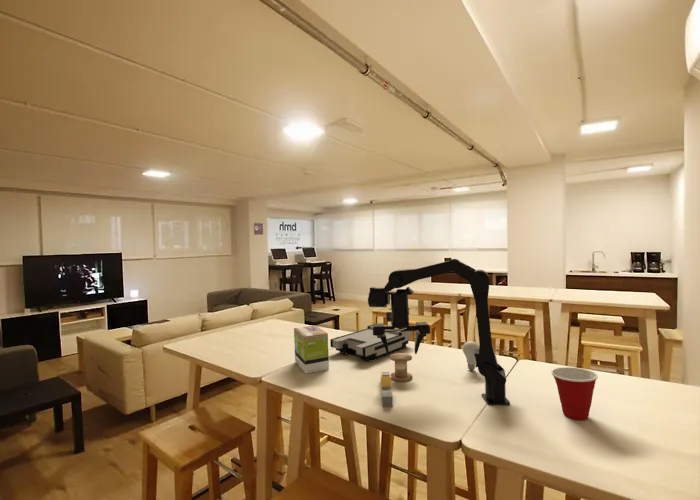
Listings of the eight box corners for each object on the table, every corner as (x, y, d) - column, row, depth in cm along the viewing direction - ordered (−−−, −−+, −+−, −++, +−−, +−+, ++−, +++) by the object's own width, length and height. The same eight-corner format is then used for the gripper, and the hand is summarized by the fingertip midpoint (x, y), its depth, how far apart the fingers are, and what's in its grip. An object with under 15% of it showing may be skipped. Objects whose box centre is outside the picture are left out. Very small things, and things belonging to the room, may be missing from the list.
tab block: (391, 395, 109) (391, 375, 109) (381, 395, 109) (381, 375, 109) (390, 390, 113) (390, 371, 113) (381, 390, 113) (380, 371, 113)
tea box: (294, 362, 143) (293, 327, 143) (316, 358, 147) (316, 324, 147) (305, 374, 129) (304, 335, 129) (329, 369, 133) (328, 332, 133)
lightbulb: (477, 367, 132) (477, 339, 132) (482, 373, 126) (481, 343, 126) (461, 367, 133) (460, 338, 132) (465, 373, 127) (464, 343, 126)
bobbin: (413, 381, 120) (413, 360, 120) (390, 381, 120) (390, 360, 120) (411, 373, 128) (410, 352, 128) (389, 373, 128) (389, 353, 128)
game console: (330, 354, 152) (330, 336, 152) (376, 339, 175) (376, 323, 175) (365, 365, 138) (365, 345, 138) (410, 347, 161) (410, 329, 161)
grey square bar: (392, 406, 102) (392, 396, 102) (382, 406, 102) (382, 396, 102) (389, 381, 121) (389, 372, 121) (380, 381, 121) (380, 372, 121)
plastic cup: (554, 402, 102) (554, 362, 102) (599, 413, 95) (599, 370, 95) (548, 417, 93) (547, 373, 93) (596, 430, 87) (596, 383, 86)
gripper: (423, 302, 122) (425, 346, 122) (371, 304, 123) (373, 348, 123) (429, 308, 111) (431, 356, 111) (372, 310, 111) (374, 358, 112)
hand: (401, 354), depth 114 cm, fingers open, 9 cm apart
